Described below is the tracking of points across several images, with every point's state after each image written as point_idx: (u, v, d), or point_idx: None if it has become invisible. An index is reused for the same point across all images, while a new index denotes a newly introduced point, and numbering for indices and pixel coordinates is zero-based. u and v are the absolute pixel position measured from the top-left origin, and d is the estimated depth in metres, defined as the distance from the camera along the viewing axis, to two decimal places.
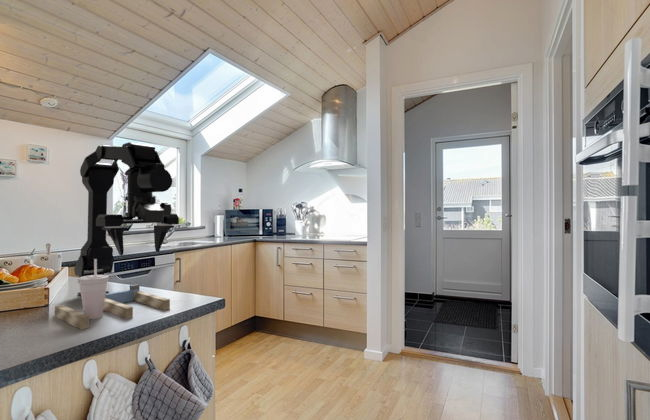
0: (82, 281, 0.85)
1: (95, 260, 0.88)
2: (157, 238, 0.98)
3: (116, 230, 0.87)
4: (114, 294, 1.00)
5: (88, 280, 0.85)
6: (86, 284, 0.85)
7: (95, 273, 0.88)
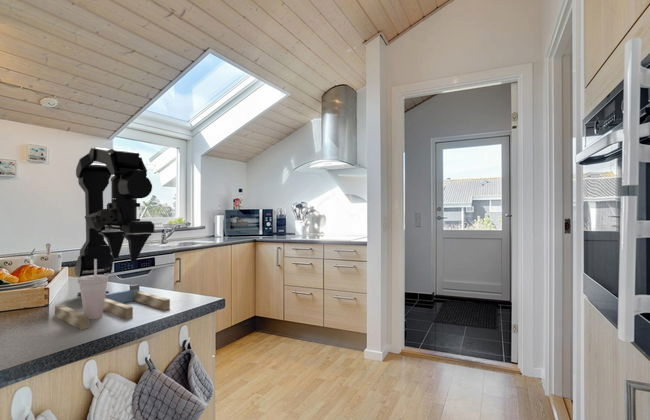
0: (82, 281, 0.85)
1: (95, 260, 0.88)
2: None
3: (101, 234, 0.96)
4: (114, 294, 1.00)
5: (88, 280, 0.85)
6: (86, 284, 0.85)
7: (95, 273, 0.88)
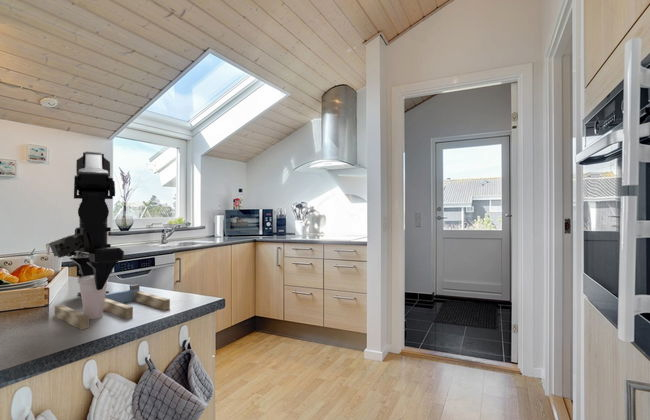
0: (82, 281, 0.85)
1: None
2: None
3: (72, 260, 0.90)
4: (114, 294, 1.00)
5: (88, 280, 0.85)
6: (86, 284, 0.85)
7: None
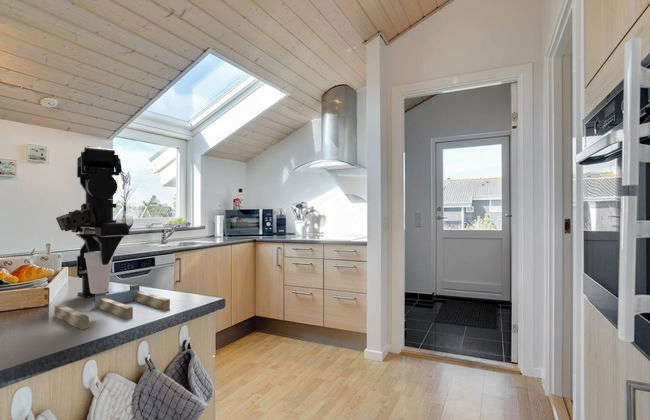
0: (88, 256, 0.86)
1: None
2: None
3: (78, 236, 0.91)
4: (114, 294, 1.00)
5: (94, 255, 0.86)
6: (92, 259, 0.86)
7: None
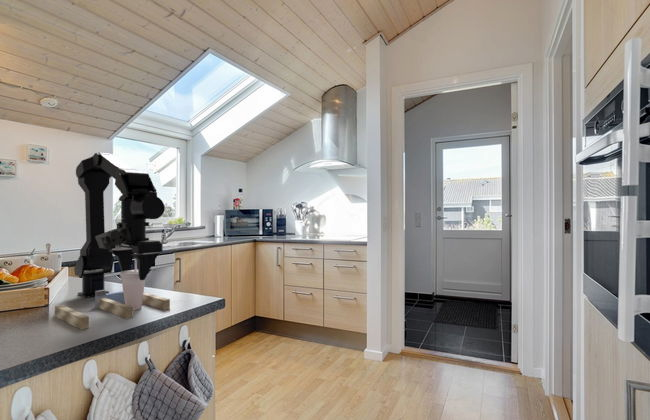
0: (124, 275, 0.93)
1: None
2: None
3: (111, 252, 0.98)
4: (114, 294, 1.00)
5: (130, 274, 0.93)
6: (128, 278, 0.93)
7: (135, 268, 0.96)
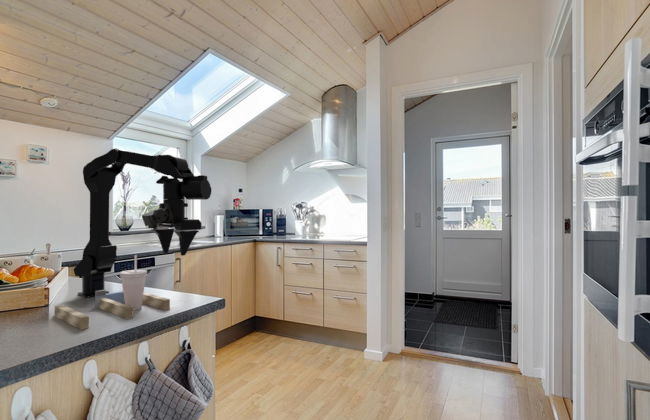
0: (124, 275, 0.93)
1: (135, 256, 0.96)
2: None
3: (153, 231, 1.07)
4: (114, 294, 1.00)
5: (130, 274, 0.93)
6: (128, 278, 0.93)
7: (135, 268, 0.96)
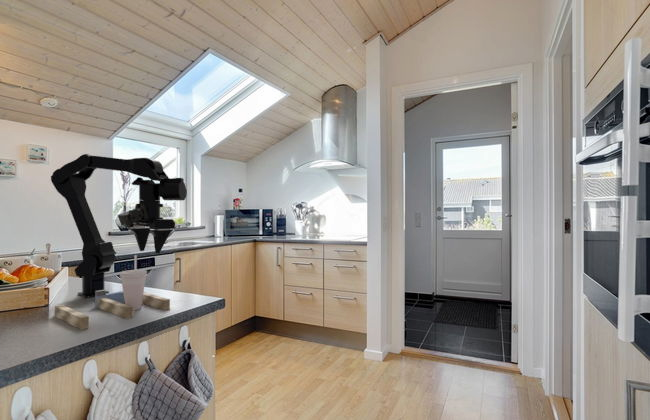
0: (124, 275, 0.93)
1: (135, 256, 0.96)
2: None
3: (130, 230, 1.13)
4: (114, 294, 1.00)
5: (130, 274, 0.93)
6: (128, 278, 0.93)
7: (135, 268, 0.96)
